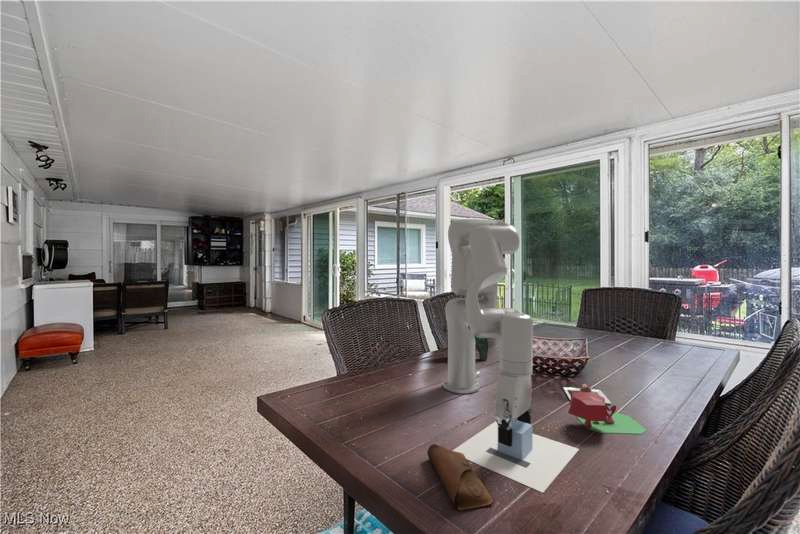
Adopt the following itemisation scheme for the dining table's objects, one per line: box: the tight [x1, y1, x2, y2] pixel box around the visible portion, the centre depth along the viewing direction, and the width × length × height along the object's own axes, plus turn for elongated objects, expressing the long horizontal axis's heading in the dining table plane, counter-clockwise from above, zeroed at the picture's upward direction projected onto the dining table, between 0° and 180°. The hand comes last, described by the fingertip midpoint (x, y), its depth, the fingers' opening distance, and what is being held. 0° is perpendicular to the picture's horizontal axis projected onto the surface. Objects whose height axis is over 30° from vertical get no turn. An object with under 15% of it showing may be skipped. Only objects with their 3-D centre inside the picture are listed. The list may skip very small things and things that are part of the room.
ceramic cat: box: [442, 320, 489, 362], centre depth 166 cm, size 20×6×20 cm, turn 80°
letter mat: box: [452, 420, 580, 494], centre depth 87 cm, size 22×22×1 cm
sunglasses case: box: [427, 443, 494, 511], centre depth 76 cm, size 18×7×7 cm
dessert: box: [562, 383, 612, 405], centre depth 121 cm, size 12×12×5 cm
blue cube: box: [498, 418, 534, 460], centre depth 87 cm, size 6×6×6 cm
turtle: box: [567, 391, 648, 435], centre depth 101 cm, size 15×20×9 cm
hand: (514, 436), depth 88 cm, fingers open, 9 cm apart
